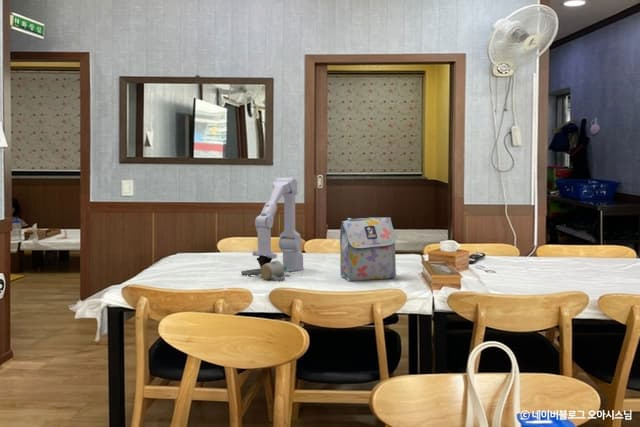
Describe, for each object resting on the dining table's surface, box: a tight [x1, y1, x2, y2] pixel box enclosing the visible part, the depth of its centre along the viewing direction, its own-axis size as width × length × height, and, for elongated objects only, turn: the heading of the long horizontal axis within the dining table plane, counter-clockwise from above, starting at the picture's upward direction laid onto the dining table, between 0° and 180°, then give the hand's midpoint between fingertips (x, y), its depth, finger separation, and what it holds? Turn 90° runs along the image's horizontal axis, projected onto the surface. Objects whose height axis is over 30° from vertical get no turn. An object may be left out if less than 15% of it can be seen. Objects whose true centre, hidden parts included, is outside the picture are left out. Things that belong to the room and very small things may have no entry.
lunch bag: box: [339, 217, 397, 282], centre depth 307 cm, size 22×17×26 cm
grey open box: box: [240, 267, 261, 277], centre depth 323 cm, size 17×6×2 cm, turn 133°
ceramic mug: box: [259, 260, 286, 282], centre depth 306 cm, size 11×8×8 cm
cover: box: [282, 264, 291, 273], centre depth 322 cm, size 16×5×2 cm, turn 25°
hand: (264, 273), depth 311 cm, fingers closed
